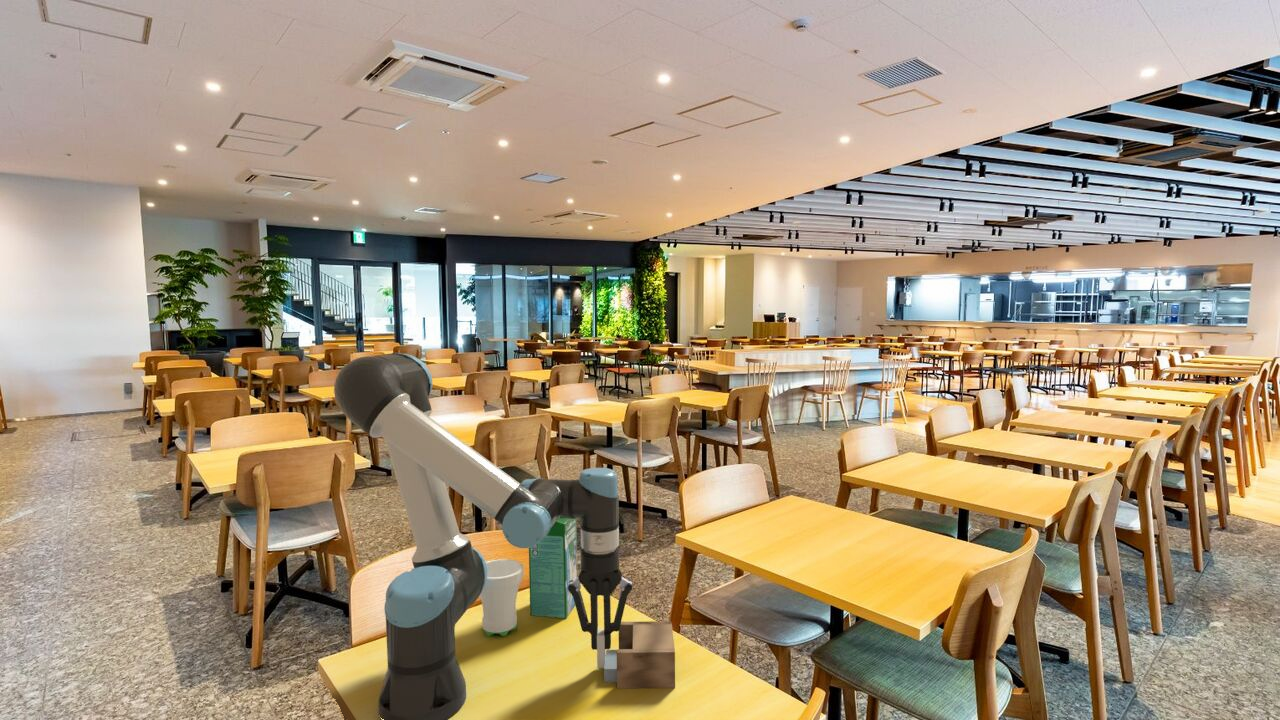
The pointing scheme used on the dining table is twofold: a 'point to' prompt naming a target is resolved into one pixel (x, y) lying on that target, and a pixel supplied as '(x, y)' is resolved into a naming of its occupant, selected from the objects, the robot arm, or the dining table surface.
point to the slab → (610, 666)
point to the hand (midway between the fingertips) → (601, 663)
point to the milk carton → (553, 570)
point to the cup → (501, 596)
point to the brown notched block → (646, 655)
